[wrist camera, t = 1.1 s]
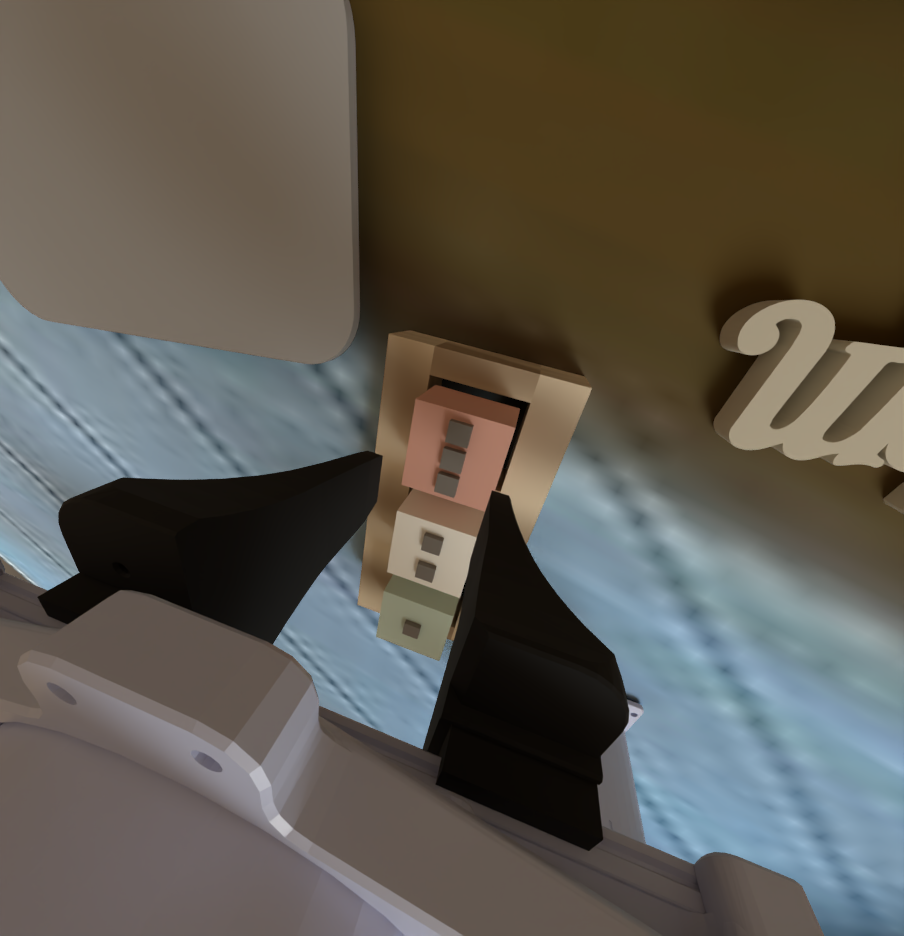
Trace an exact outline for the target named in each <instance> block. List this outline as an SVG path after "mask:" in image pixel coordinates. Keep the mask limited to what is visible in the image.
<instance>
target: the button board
mask: <svg viewBox="0 0 904 936" xmlns="http://www.w3.org/2000/svg"><path fill="white" fill-rule="evenodd" d="M442 379H447V380H450V381H454V382H457V383H461V384H464V385H468V386H471V387H475V388H479V389H482V390H486V391H489V392H493V393H496V394H500V395H504V396H507V397H511V398H514V399H518V400H521V401H525V402H528V405H527V408H526V411H525V414H524V417H523V420H522V423H521V426H520V429H519V432H518V435H517V438H516V441H515V444H514V447H513V450H512V453H511V456H510V459H509V462H508V465H507V468H506V469H505V468H502V471H501V474H500V477H499V480H498V483H497V486H496V489H495V491H496V492H499V493H502V494H505V495H508V496H509V497H510V499H511V503H512V507H513V511H514V514H515V517H516V520H517V523H518V526H519V528H520V531H521V534H522V536H523V538H524V541H525V543H526V544H527V542H528V540H529V537H530V535H531V532H532V530H533V528H534V525H535V523H536V521H537V518H538V516H539V513H540V511H541V509H542V506H543V504H544V502H545V499H546V497H547V494H548V492H549V490H550V487H551V485H552V482H553V480H554V478H555V475H556V473H557V471H558V468H559V466H560V463H561V461H562V459H563V456H564V454H565V451H566V449H567V447H568V444H569V442H570V440H571V437H572V435H573V432H574V430H575V428H576V425H577V423H578V420H579V418H580V416H581V413H582V411H583V409H584V406H585V404H586V401H587V399H588V397H589V394H590V392H591V390H592V388H591V386H590V384H589V383H588V381H587V379H586V377H585V376H581V375H577V374H574V373H570V372H566V371H562V370H559V369H555V368H551V367H547V366H544V365H540V364H536V363H532V362H528V361H525V360H521V359H517V358H513V357H510V356H506V355H502V354H498V353H495V352H491V351H487V350H483V349H480V348H476V347H472V346H468V345H464V344H461V343H457V342H453V341H449V340H446V339H442V338H438V337H434V336H431V335H427V334H423V333H419V332H415V331H412V330H408V331H402V332H396V333H390V334H389V336H388V344H387V353H386V362H385V371H384V379H383V388H382V397H381V405H380V414H379V423H378V431H377V440H376V449H375V453H376V454H379V455H382V456H383V460H382V467H381V475H380V483H379V491H378V498H377V503H376V504H375V506H374V507H373V509H372V511H371V512H370V514H369V515H368V518H367V527H366V536H365V544H364V553H363V562H362V570H361V579H360V588H359V596H358V605H360V606H362V607H365V608H368V609H370V610H373V611H376V612H378V613H380V611H381V605H382V599H383V593H384V590H385V588H386V586H387V584H388V583H389V581H390V579H391V577H392V576H393V574H392V573H389V572H387V569H388V563H389V557H390V550H391V544H392V538H393V532H394V526H395V520H396V514H397V510H398V509H399V507H400V506H401V505H402V503H403V502H404V501H405V499H406V498H407V496H408V495H409V494H410V492H411V491H412V489H413V488H410V487H407V486H404V485H401V484H402V478H403V472H404V466H405V460H406V454H407V448H408V442H409V436H410V430H411V424H412V418H413V412H414V406H415V400H416V398H417V397H419V396H420V395H422V394H423V393H425V392H426V391H427V390H429V389H430V388H432V387H433V386H434V385H439V386H441V384H442ZM462 603H463V596H460V598H459V600H458V604H457V607H456V611H455V614H454V617H453V620H452V624H451V627H450V630H449V633H448V636H447V639H450V640H452V641H454V638H455V634H456V631H457V627H458V623H459V618H460V614H461V608H462Z"/></svg>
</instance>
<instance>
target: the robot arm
mask: <svg viewBox="0 0 904 936" xmlns="http://www.w3.org/2000/svg"><path fill="white" fill-rule="evenodd" d="M382 460H383V456H382V455H379V454H376V453H373V452H370V451H364V452H360V453H356V454H352V455H348V456H345V457H341V458H338V459H334V460H331V461H327V462H324V463H320V464H316V465H311V466H307V467H303V468H299V469H295V470H290V471H285V472H279V473H273V474H266V475H259V476H249V477H238V478H226V479H205V480H167V479H142V478H120V479H117V480H115V481H112V482H110V483H107V484H105V485H102V486H100V487H97V488H95V489H92V490H90V491H88V492H85V493H83V494H80V495H78V496H75V497H73V498H70V499H69V500H67V501H65V502H63V504H62V506H61V508H60V511H59V526H60V529H61V532H62V535H63V537H64V539H65V541H66V544H67V546H68V548H69V550H70V553H71V555H72V557H73V559H74V562H75V564H76V566H77V568H78V571H79V572H80V573H78V574H76V575H75V576H73V577H71V578H69V579H68V580H66V581H64V582H62V583H61V584H59V585H57V586H55V587H54V588H52V589H50V590H48V591H47V590H45V589H43V588H40V587H38V586H35V585H33V584H31V583H28V582H26V581H24V580H21V579H19V578H17V577H14V576H12V575H9V574H7V573H5V568H4V566H3V564H2V562H1V560H0V936H824V934H823V932H822V930H821V928H820V926H819V923H818V921H817V919H816V917H815V914H814V912H813V910H812V908H811V905H810V903H809V901H808V899H807V896H806V894H805V892H804V890H803V888H802V886H801V885H800V884H799V883H797V882H796V881H795V880H793V879H791V878H788V877H786V876H784V875H781V874H779V873H776V872H774V871H771V870H769V869H767V868H764V867H762V866H759V865H757V864H755V863H752V862H750V861H747V860H745V859H743V858H740V857H738V856H735V855H731V854H728V853H719V852H713V853H709V854H706V855H704V856H702V857H701V858H700V859H699V860H698V861H697V862H696V863H695V864H691V863H689V862H687V861H684V860H682V859H679V858H677V857H675V856H672V855H670V854H668V853H665V852H663V851H661V850H658V849H656V848H654V847H651V846H649V845H646V842H645V837H644V831H643V826H642V821H641V816H640V810H639V805H638V800H637V795H636V789H635V784H634V779H633V774H632V768H631V763H630V758H629V753H628V747H627V742H626V737H625V732H626V731H627V730H628V729H629V728H630V727H631V726H632V725H633V724H634V723H635V722H636V720H637V719H638V718H639V717H640V716H641V715H642V714H643V713H644V711H643V707H642V706H641V705H640V704H638V703H635V702H633V701H630V700H627V697H626V692H625V688H624V684H623V680H622V677H621V674H620V671H619V668H618V665H617V662H616V658H615V655H614V654H613V653H612V652H611V651H610V650H609V649H608V648H607V647H606V646H605V645H604V644H603V643H602V642H601V641H600V640H599V639H598V638H597V637H596V636H595V635H594V634H593V633H592V632H591V631H589V630H588V629H587V628H586V627H585V626H584V625H583V624H582V622H581V621H580V620H579V619H578V618H577V617H576V616H575V615H574V614H573V612H572V611H571V610H570V609H569V608H568V607H567V606H566V604H565V603H564V602H563V601H562V600H561V598H560V597H559V596H558V595H557V593H556V592H555V591H554V589H553V588H552V587H551V585H550V584H549V583H548V581H547V580H546V578H545V577H544V575H543V574H542V572H541V571H540V569H539V568H538V566H537V564H536V563H535V561H534V559H533V557H532V555H531V553H530V551H529V549H528V547H527V545H526V543H525V541H524V538H523V536H522V534H521V531H520V528H519V526H518V523H517V520H516V517H515V514H514V511H513V507H512V503H511V499H510V497H509V496H508V495H505V494H502V493H499V492H496V491H493V490H492V492H491V495H490V498H489V501H488V504H487V507H486V510H485V513H484V517H483V520H482V523H481V526H480V529H479V532H478V535H477V539H476V542H475V545H474V548H473V552H472V555H471V559H470V564H469V569H468V575H467V580H466V586H465V592H464V597H463V603H462V608H461V614H460V618H459V623H458V627H457V631H456V634H455V638H454V641H453V645H452V648H451V652H450V655H449V659H448V662H447V666H446V670H445V673H444V677H443V680H442V684H441V687H440V691H439V694H438V698H437V701H436V705H435V708H434V712H433V715H432V719H431V722H430V726H429V729H428V732H427V736H426V739H425V743H424V746H423V750H422V749H420V748H418V747H415V746H413V745H411V744H408V743H406V742H403V741H401V740H399V739H396V738H394V737H392V736H389V735H387V734H385V733H382V732H380V731H378V730H375V729H373V728H370V727H368V726H366V725H363V724H361V723H359V722H356V721H354V720H352V719H349V718H347V717H344V716H342V715H340V714H337V713H335V712H333V711H330V710H328V709H326V708H323V707H321V706H319V700H318V695H317V692H316V689H315V686H314V683H313V680H312V677H311V675H310V674H309V673H308V672H307V671H306V670H305V669H304V668H303V667H302V666H301V665H300V664H299V663H298V662H297V661H296V659H295V658H294V657H293V656H291V655H289V654H288V653H286V652H284V651H282V650H281V649H279V648H277V647H276V646H274V645H272V644H273V643H274V641H275V640H276V638H277V637H278V635H279V633H280V632H281V630H282V629H283V627H284V625H285V624H286V622H287V621H288V619H289V618H290V616H291V615H292V613H293V612H294V610H295V609H296V607H297V606H298V604H299V603H300V601H301V600H302V598H303V597H304V595H305V594H306V592H307V591H308V590H309V588H310V587H311V585H312V584H313V582H314V581H315V580H316V578H317V577H318V575H319V574H320V573H321V572H322V570H323V569H324V568H325V567H326V565H327V564H328V563H329V562H330V561H331V559H332V558H333V557H334V556H335V555H336V554H337V553H338V551H339V550H340V549H341V548H342V547H343V546H344V545H345V543H346V542H347V541H348V540H349V539H350V538H351V537H352V535H353V534H354V533H355V532H356V531H357V530H358V528H359V527H360V526H361V525H362V524H363V523H364V521H365V520H366V518H367V517H368V515H369V514H370V512H371V511H372V509H373V507H374V506H375V504H376V503H377V498H378V491H379V483H380V475H381V467H382Z"/></svg>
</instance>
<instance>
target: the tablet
mask: <svg viewBox="0 0 904 936" xmlns="http://www.w3.org/2000/svg"><path fill="white" fill-rule="evenodd" d="M0 280H1V281H2V283H3V284H4V286H5V287H6V288H7V290H8V291H9V292H10V293H11V295H12V296H13V297H14V298H15V299H16V300H17V301H18V302H19V303H20V304H21V305H22V306H23V307H24V308H26V309H27V310H28V311H29V312H31V313H32V314H34V315H36V316H37V317H39V318H41V319H44V320H47V321H52V322H58V323H64V324H70V325H76V326H82V327H88V328H94V329H100V330H106V331H112V332H118V333H124V334H130V335H136V336H142V337H148V338H154V339H160V340H166V341H172V342H178V343H184V344H190V345H196V346H202V347H208V348H214V349H220V350H226V351H232V352H238V353H244V354H250V355H256V356H262V357H268V358H274V359H280V360H286V361H292V362H298V363H304V364H319V363H323V362H327V361H330V360H333V359H335V358H337V357H339V356H340V355H341V354H343V353H344V352H345V351H346V350H347V349H348V347H349V346H350V345H351V343H352V341H353V339H354V338H355V335H356V332H357V329H358V325H359V319H360V278H359V220H358V162H357V104H356V46H355V30H354V22H353V16H352V10H351V6H350V2H349V0H0Z"/></svg>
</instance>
